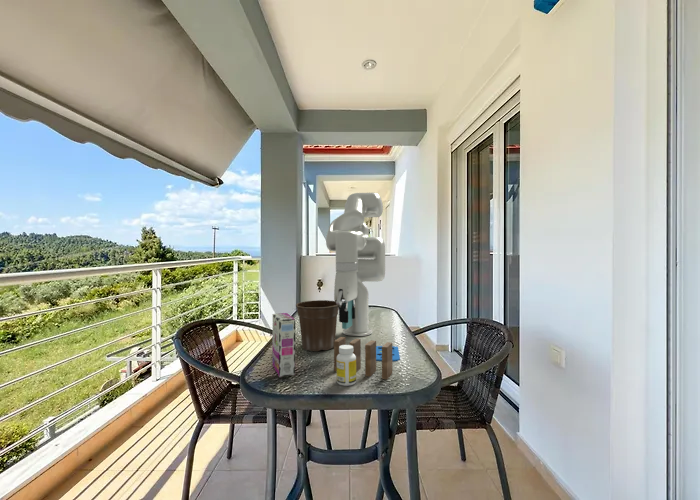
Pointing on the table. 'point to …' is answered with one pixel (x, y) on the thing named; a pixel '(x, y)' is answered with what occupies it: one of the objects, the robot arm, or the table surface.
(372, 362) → the walnut domino
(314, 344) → the plant pot
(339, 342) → the walnut domino
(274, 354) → the candy bar box
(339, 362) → the supplement bottle
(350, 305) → the domino teal end
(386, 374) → the walnut domino
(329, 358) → the table surface
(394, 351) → the handheld gaming device
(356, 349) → the walnut domino
